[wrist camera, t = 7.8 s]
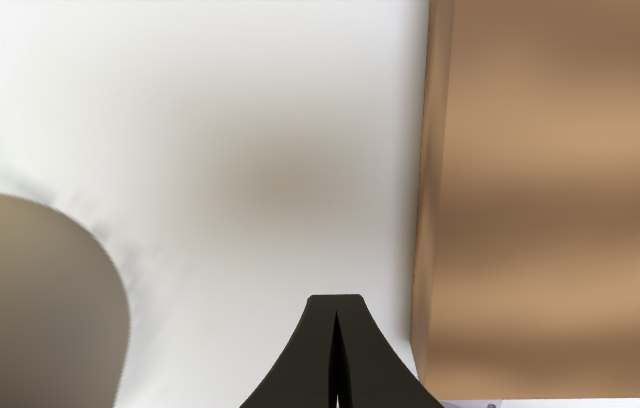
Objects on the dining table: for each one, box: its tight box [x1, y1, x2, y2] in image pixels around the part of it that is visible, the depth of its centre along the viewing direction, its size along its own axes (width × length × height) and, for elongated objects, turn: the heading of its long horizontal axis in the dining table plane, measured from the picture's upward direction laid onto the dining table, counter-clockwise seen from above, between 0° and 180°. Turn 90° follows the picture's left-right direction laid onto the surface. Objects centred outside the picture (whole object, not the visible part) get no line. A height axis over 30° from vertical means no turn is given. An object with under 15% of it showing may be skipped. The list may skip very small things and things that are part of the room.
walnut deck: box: [410, 0, 640, 400], centre depth 20 cm, size 18×12×4 cm, turn 1°
